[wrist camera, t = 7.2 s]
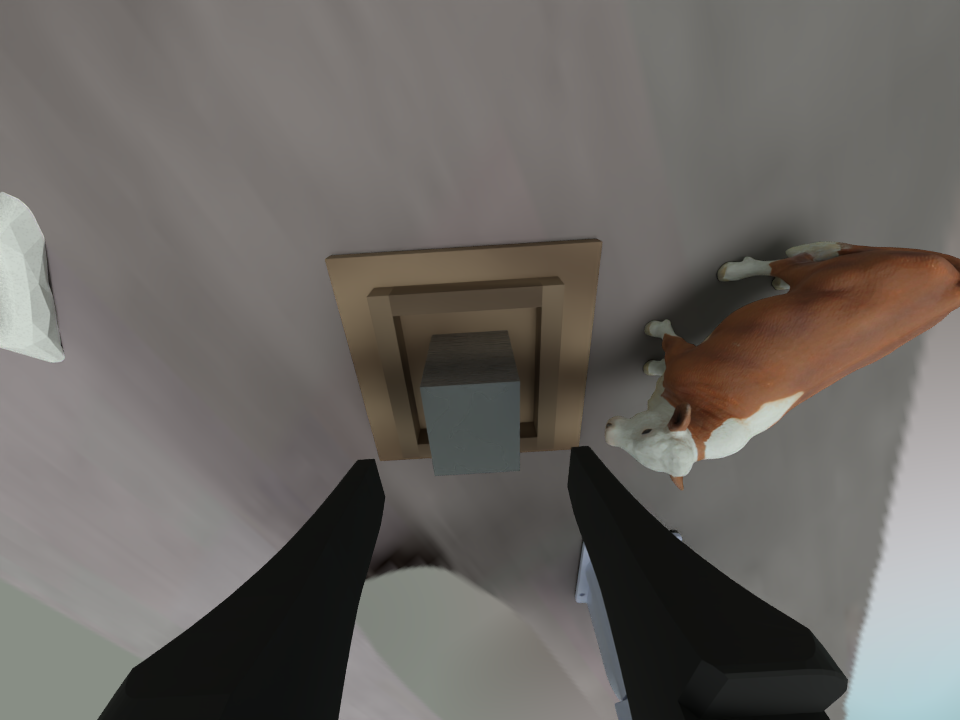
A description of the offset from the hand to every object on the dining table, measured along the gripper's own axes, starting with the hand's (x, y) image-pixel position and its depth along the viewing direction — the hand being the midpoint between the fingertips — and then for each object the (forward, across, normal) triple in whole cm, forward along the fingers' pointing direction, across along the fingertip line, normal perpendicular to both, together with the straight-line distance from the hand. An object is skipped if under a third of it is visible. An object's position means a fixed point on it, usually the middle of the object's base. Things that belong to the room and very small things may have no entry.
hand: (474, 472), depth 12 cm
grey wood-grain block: (+7, 0, 0) cm, 7 cm away
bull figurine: (+8, -12, -2) cm, 15 cm away
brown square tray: (+8, 0, 0) cm, 8 cm away
